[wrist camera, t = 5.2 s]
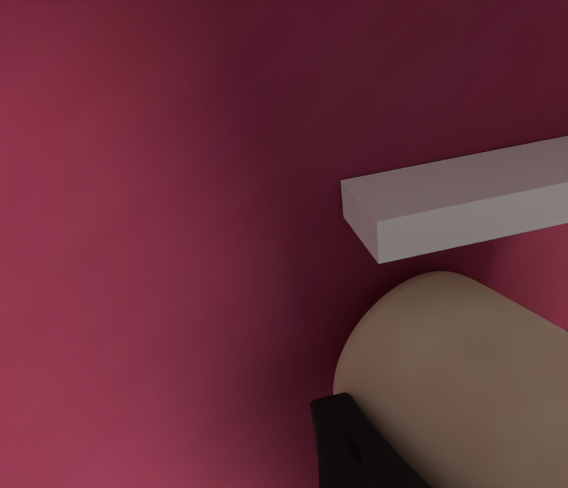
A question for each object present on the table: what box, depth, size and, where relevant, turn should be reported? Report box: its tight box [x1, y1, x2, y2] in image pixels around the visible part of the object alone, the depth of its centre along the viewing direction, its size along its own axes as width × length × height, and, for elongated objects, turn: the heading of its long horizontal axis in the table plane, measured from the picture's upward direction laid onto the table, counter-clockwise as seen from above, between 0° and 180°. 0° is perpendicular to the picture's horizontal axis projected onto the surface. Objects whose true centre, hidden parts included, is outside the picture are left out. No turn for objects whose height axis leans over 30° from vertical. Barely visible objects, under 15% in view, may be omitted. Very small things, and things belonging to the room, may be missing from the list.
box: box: [341, 136, 568, 264], centre depth 14 cm, size 11×10×2 cm
